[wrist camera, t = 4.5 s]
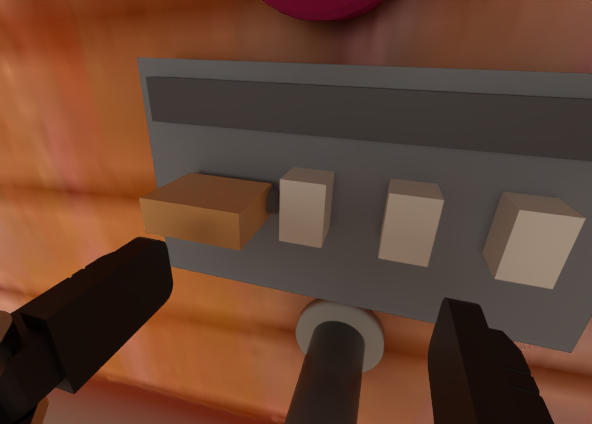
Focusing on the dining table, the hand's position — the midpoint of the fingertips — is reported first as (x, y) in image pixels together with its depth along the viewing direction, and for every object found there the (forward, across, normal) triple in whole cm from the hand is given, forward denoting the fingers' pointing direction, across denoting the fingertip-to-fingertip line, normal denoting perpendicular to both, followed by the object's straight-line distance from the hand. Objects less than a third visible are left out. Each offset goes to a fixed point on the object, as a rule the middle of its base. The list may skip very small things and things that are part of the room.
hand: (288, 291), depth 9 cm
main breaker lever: (+7, +5, 0) cm, 9 cm away
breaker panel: (+10, -1, 0) cm, 10 cm away
